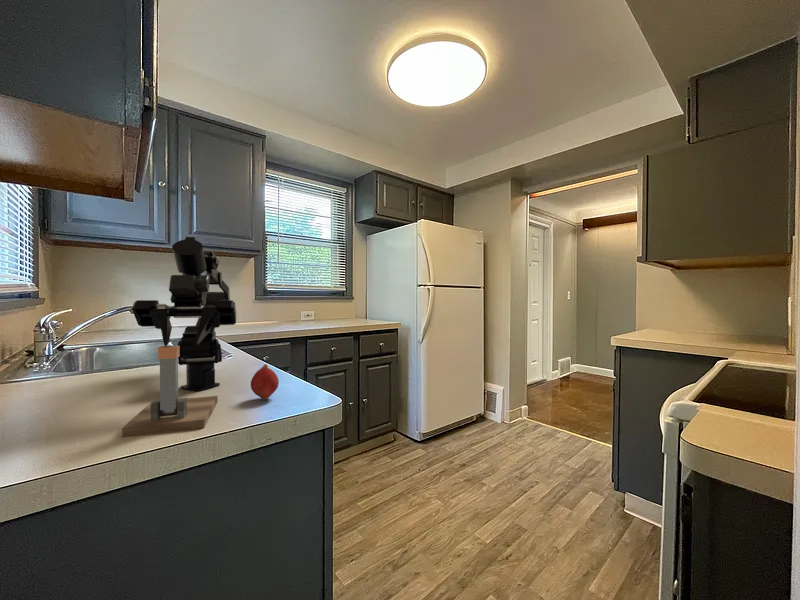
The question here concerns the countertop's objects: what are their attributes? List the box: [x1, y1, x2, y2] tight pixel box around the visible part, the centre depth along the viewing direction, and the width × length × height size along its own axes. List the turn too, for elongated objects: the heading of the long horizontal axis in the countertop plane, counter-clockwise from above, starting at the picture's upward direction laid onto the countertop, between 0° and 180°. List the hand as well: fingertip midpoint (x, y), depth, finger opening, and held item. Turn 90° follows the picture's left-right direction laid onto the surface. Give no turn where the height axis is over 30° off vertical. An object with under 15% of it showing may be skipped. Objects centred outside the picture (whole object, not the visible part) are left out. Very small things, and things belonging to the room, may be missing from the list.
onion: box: [250, 363, 280, 401], centre depth 78 cm, size 6×6×8 cm
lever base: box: [121, 395, 219, 438], centre depth 67 cm, size 15×12×4 cm
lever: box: [157, 345, 180, 416], centre depth 62 cm, size 2×3×12 cm
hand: (181, 344), depth 70 cm, fingers open, 5 cm apart
